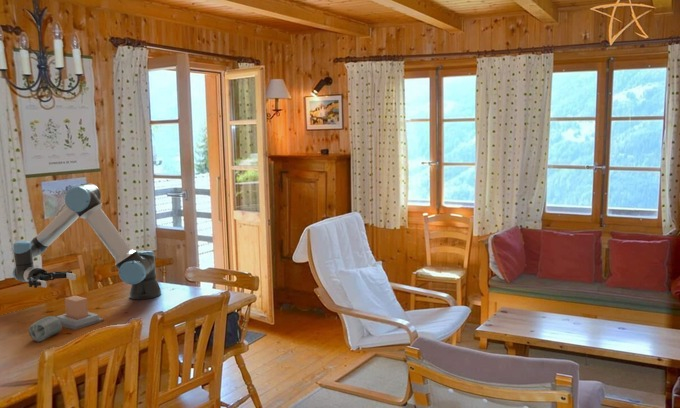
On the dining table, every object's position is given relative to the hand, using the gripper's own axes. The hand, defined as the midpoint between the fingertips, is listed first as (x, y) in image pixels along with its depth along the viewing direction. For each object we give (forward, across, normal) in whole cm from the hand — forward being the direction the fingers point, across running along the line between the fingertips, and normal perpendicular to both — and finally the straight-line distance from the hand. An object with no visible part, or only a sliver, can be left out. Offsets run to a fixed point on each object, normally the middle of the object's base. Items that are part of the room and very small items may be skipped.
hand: (60, 280), depth 264 cm
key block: (+10, 0, -17) cm, 20 cm away
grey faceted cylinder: (+17, +18, -18) cm, 30 cm away
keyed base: (+10, 0, -18) cm, 20 cm away
